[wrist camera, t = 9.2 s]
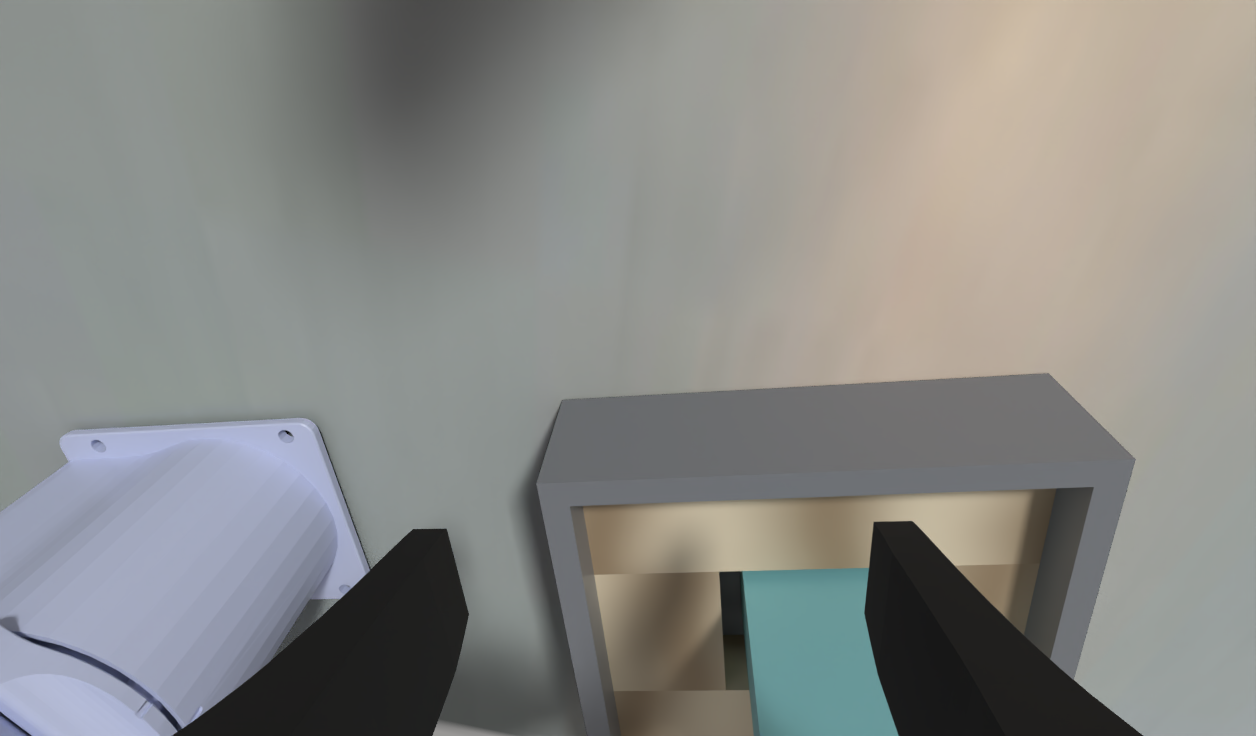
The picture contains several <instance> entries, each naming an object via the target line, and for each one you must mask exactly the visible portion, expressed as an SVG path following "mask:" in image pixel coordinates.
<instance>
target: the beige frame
mask: <svg viewBox="0 0 1256 736" xmlns="http://www.w3.org/2000/svg"><path fill="white" fill-rule="evenodd" d="M1056 489H1057V488H1052V489H1025V490H998V491H970V492H943V493H916V494H889V495H862V496H835V497H808V498H781V499H754V500H727V501H700V502H673V503H646V504H619V505H592V506H583V511H584V517H585V523H586V529H587V535H588V541H589V547H590V553H591V559H592V565H593V571H594V577H595V583H596V589H597V595H598V601H599V607H600V613H601V619H602V625H603V631H604V637H605V643H606V649H607V655H608V661H609V667H610V672H611V678H612V684H613V690H614V696H615V702H616V708H617V714H618V720H619V726H620V732H621V736H754V733H753V723H752V713H751V703H750V692H749V682H748V672H747V661H746V651H745V641H744V635H723V631H722V614H721V596H720V579H719V572H726V571H765V570H804V569H843V568H869V562H870V552H871V543H872V533H873V523H874V522H882V521H913V522H914V523H915V524H916V525H917V526H918V527H919V528H920V529H921V530H922V531H923V532H924V533H925V534H926V535H927V536H928V537H929V539H930V540H931V541H932V542H933V543H934V544H935V545H936V546H937V547H938V548H939V549H940V550H941V552H942V553H943V554H944V555H945V556H946V557H947V558H948V559H949V560H950V561H951V562H952V563H953V564H954V565H955V567H956V568H957V569H958V570H959V571H960V572H961V573H962V574H963V575H964V576H965V577H966V578H967V579H968V580H969V581H970V582H971V583H972V584H973V585H974V586H975V587H976V588H977V590H978V591H979V592H980V593H981V594H982V595H983V596H984V597H985V598H986V599H987V600H988V601H989V602H990V603H991V604H992V605H993V606H994V607H995V608H997V609H998V610H999V611H1000V612H1001V613H1002V614H1003V615H1004V616H1005V617H1006V618H1007V619H1008V620H1009V621H1010V622H1011V623H1012V624H1013V625H1014V626H1015V627H1016V628H1017V629H1018V630H1019V631H1020V632H1021V633H1022V634H1023V635H1024V632H1025V628H1026V623H1027V619H1028V614H1029V610H1030V605H1031V601H1032V596H1033V592H1034V587H1035V583H1036V579H1037V574H1038V570H1039V565H1040V561H1041V556H1042V552H1043V547H1044V543H1045V538H1046V534H1047V529H1048V525H1049V520H1050V516H1051V511H1052V507H1053V502H1054V498H1055V493H1056Z"/></svg>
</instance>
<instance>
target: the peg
mask: <svg viewBox="0 0 1256 736" xmlns="http://www.w3.org/2000/svg"><path fill="white" fill-rule="evenodd" d="M868 572H869V568H843V569H804V570H765V571H740V584H741V606H742V620H743V631H744V641H745V651H746V661H747V672H748V682H749V692H750V703H751V713H752V723H753V733H754V736H899V735H898V732H897V730H896V727H895V724H894V721H893V718H892V715H891V712H890V709H889V706H888V703H887V700H886V697H885V695H884V692H883V689H882V686H881V683H880V680H879V677H878V673H877V669H876V665H875V660H874V656H873V652H872V647H871V643H870V638H869V633H868V629H867V624H866V619H865V614H864V610H865V601H866V591H867V581H868Z"/></svg>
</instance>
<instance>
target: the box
mask: <svg viewBox="0 0 1256 736" xmlns="http://www.w3.org/2000/svg"><path fill="white" fill-rule="evenodd" d="M1135 460H1136V459H1135V458H1134V457H1133V456H1132V455H1131V454H1130V453H1129V452H1128V451H1127V450H1126V449H1125V448H1124V447H1123V446H1122V445H1121V444H1120V443H1119V442H1118V441H1117V440H1116V439H1115V438H1114V437H1113V436H1112V435H1111V434H1110V433H1109V432H1107V431H1106V430H1105V429H1104V428H1103V427H1102V426H1101V425H1100V424H1099V423H1098V422H1097V421H1096V420H1095V419H1094V418H1093V417H1092V416H1091V415H1090V414H1089V413H1088V412H1087V411H1086V410H1085V409H1084V408H1083V407H1082V406H1081V405H1080V404H1079V403H1078V402H1077V401H1076V400H1075V399H1074V398H1073V397H1072V396H1071V395H1070V394H1069V393H1068V392H1067V391H1066V390H1065V389H1064V388H1063V387H1062V386H1061V385H1060V384H1059V383H1058V382H1057V381H1056V380H1055V379H1054V378H1053V377H1052V376H1051V375H1050V374H1049V373H1047V374H1028V375H1010V376H992V377H974V378H955V379H937V380H919V381H900V382H882V383H864V384H845V385H827V386H809V387H790V388H772V389H754V390H736V391H717V392H699V393H681V394H662V395H644V396H626V397H607V398H589V399H571V400H562V403H561V406H560V409H559V413H558V416H557V419H556V422H555V425H554V429H553V432H552V435H551V438H550V441H549V445H548V448H547V451H546V454H545V457H544V461H543V464H542V467H541V470H540V473H539V476H538V480H537V483H536V485H537V490H538V495H539V500H540V505H541V510H542V515H543V520H544V525H545V530H546V535H547V540H548V545H549V549H550V554H551V559H552V564H553V569H554V574H555V579H556V584H557V589H558V594H559V599H560V604H561V609H562V614H563V619H564V624H565V629H566V634H567V639H568V643H569V648H570V653H571V658H572V663H573V668H574V673H575V678H576V683H577V688H578V693H579V698H580V703H581V708H582V713H583V718H584V723H585V728H586V733H587V736H621V732H620V726H619V720H618V714H617V708H616V702H615V696H614V690H613V684H612V678H611V672H610V667H609V661H608V655H607V649H606V643H605V637H604V631H603V625H602V619H601V613H600V607H599V601H598V595H597V589H596V583H595V577H594V571H593V565H592V559H591V553H590V547H589V541H588V535H587V529H586V523H585V517H584V511H583V506H592V505H619V504H646V503H673V502H700V501H727V500H754V499H781V498H808V497H835V496H862V495H889V494H916V493H943V492H970V491H998V490H1025V489H1052V488H1057V489H1056V493H1055V498H1054V502H1053V507H1052V511H1051V516H1050V520H1049V525H1048V529H1047V534H1046V538H1045V543H1044V547H1043V552H1042V556H1041V561H1040V565H1039V570H1038V574H1037V579H1036V583H1035V587H1034V592H1033V596H1032V601H1031V605H1030V610H1029V614H1028V619H1027V623H1026V628H1025V632H1024V636H1025V637H1026V638H1027V639H1029V640H1030V641H1031V642H1032V643H1033V644H1034V645H1035V646H1036V647H1037V648H1038V649H1039V650H1040V651H1042V652H1043V653H1044V654H1045V655H1046V656H1047V657H1048V658H1049V659H1050V660H1052V661H1053V662H1054V663H1055V664H1056V665H1057V666H1058V667H1059V668H1060V669H1062V670H1063V671H1064V672H1065V673H1066V674H1067V675H1068V676H1070V677H1071V678H1072V679H1073V680H1074V677H1075V673H1076V670H1077V666H1078V662H1079V659H1080V655H1081V652H1082V648H1083V645H1084V641H1085V638H1086V634H1087V630H1088V627H1089V623H1090V620H1091V616H1092V613H1093V609H1094V605H1095V602H1096V598H1097V595H1098V591H1099V588H1100V584H1101V581H1102V577H1103V573H1104V570H1105V566H1106V563H1107V559H1108V556H1109V552H1110V549H1111V545H1112V541H1113V538H1114V534H1115V531H1116V527H1117V524H1118V520H1119V516H1120V513H1121V509H1122V506H1123V502H1124V499H1125V495H1126V492H1127V488H1128V484H1129V481H1130V477H1131V474H1132V470H1133V467H1134V463H1135ZM719 579H720V596H721V614H722V631H723V635H744V631H743V620H742V606H741V584H740V571H726V572H719Z"/></svg>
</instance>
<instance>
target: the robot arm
mask: <svg viewBox="0 0 1256 736" xmlns="http://www.w3.org/2000/svg"><path fill="white" fill-rule="evenodd" d="M285 430H287V431H289V432H290V433H292V435H293V436H294V437H292V436H289V435H288V434H287V433H286V432H285ZM59 443H60V446H61V449H62V451H63V452H64V454H65V456H66V458H67V459H68V461H69V462H68V463H67V464H65V465H64V466H63V467H61V468H60V469H58V470H57V471H56V472H54V473H53V474H52V475H50V476H49V477H47V478H46V479H45V480H43V481H42V482H41V483H39V484H38V485H37V486H35V487H34V488H32V489H31V490H30V491H28V492H27V493H26V494H24V495H23V496H21V497H20V498H19V499H17V500H16V501H15V502H13V503H12V504H10V505H9V506H8V507H6V508H5V509H4V510H2V511H1V512H0V736H432V735H433V732H434V730H435V727H436V724H437V722H438V719H439V716H440V713H441V711H442V708H443V705H444V702H445V700H446V697H447V694H448V691H449V689H450V686H451V683H452V680H453V677H454V674H455V672H456V668H457V663H458V659H459V655H460V651H461V647H462V643H463V638H464V634H465V629H466V625H467V620H468V616H469V613H468V610H467V606H466V602H465V598H464V594H463V590H462V586H461V582H460V579H459V575H458V571H457V567H456V563H455V559H454V555H453V552H452V548H451V544H450V540H449V536H448V532H447V529H413V530H412V531H411V532H410V533H408V534H407V535H406V536H405V537H404V538H403V539H402V540H401V541H400V542H399V543H398V544H397V545H396V546H395V547H394V548H393V549H392V550H391V551H389V552H388V553H387V554H386V555H385V556H384V557H383V558H382V559H381V560H380V561H379V562H378V563H377V564H376V565H375V566H374V567H373V568H372V569H371V570H370V569H369V566H368V564H367V561H366V558H365V555H364V553H363V550H362V547H361V544H360V542H359V539H358V536H357V533H356V531H355V528H354V525H353V522H352V520H351V517H350V514H349V511H348V509H347V506H346V503H345V500H344V498H343V495H342V492H341V489H340V487H339V484H338V481H337V478H336V476H335V473H334V470H333V467H332V465H331V462H330V459H329V456H328V454H327V451H326V448H325V445H324V443H323V440H322V437H321V434H320V432H319V429H318V427H317V426H316V425H315V424H314V423H313V422H312V421H310V420H308V419H305V418H289V419H271V420H252V421H234V422H215V423H197V424H178V425H160V426H141V427H123V428H104V429H86V430H73V431H69V432H68V433H66V434H65V435H63V436H62V437H61V438H60V442H59ZM347 585H348V586H350V587H348V586H347ZM310 599H340V600H339V601H337V602H336V603H335V604H334V605H333V606H332V607H331V608H330V609H329V610H328V611H327V612H326V613H325V614H324V615H323V616H322V617H320V618H319V619H318V620H317V621H316V622H315V623H314V624H312V625H311V626H310V627H309V628H308V629H307V630H306V631H304V632H303V633H302V634H301V635H300V636H299V637H298V638H296V639H295V640H294V641H293V642H292V643H291V644H290V645H288V646H287V647H286V648H285V649H284V650H283V651H282V652H280V653H279V654H278V655H277V656H276V657H275V658H274V659H272V658H273V656H274V654H275V653H276V651H277V650H278V648H279V647H280V645H281V644H282V642H283V640H284V639H285V637H286V636H287V634H288V633H289V631H290V629H291V628H292V626H293V625H294V623H295V622H296V620H297V618H298V617H299V615H300V614H301V612H302V611H303V609H304V607H305V606H306V604H307V603H308V601H309V600H310ZM864 614H865V619H866V624H867V629H868V633H869V638H870V643H871V647H872V652H873V656H874V660H875V665H876V669H877V673H878V677H879V680H880V683H881V686H882V689H883V692H884V695H885V697H886V700H887V703H888V706H889V709H890V712H891V715H892V718H893V721H894V724H895V727H896V730H897V732H898V735H899V736H1143V735H1142V734H1140V733H1139V732H1138V731H1136V730H1135V729H1134V728H1133V727H1131V726H1130V725H1129V724H1127V723H1126V722H1125V721H1124V720H1122V719H1121V718H1120V717H1119V716H1117V715H1116V714H1115V713H1114V712H1112V711H1111V710H1110V709H1108V708H1107V707H1106V706H1105V705H1103V704H1102V703H1101V702H1100V701H1098V700H1097V699H1096V698H1095V697H1093V696H1092V695H1091V694H1090V693H1088V692H1087V691H1086V690H1085V689H1084V688H1082V687H1081V686H1080V685H1079V684H1078V683H1077V682H1075V681H1074V680H1073V679H1072V678H1071V677H1070V676H1068V675H1067V674H1066V673H1065V672H1064V671H1063V670H1062V669H1060V668H1059V667H1058V666H1057V665H1056V664H1055V663H1054V662H1053V661H1052V660H1050V659H1049V658H1048V657H1047V656H1046V655H1045V654H1044V653H1043V652H1042V651H1040V650H1039V649H1038V648H1037V647H1036V646H1035V645H1034V644H1033V643H1032V642H1031V641H1030V640H1029V639H1027V638H1026V637H1025V636H1024V635H1023V634H1022V633H1021V632H1020V631H1019V630H1018V629H1017V628H1016V627H1015V626H1014V625H1013V624H1012V623H1011V622H1010V621H1009V620H1008V619H1007V618H1006V617H1005V616H1004V615H1003V614H1002V613H1001V612H1000V611H999V610H998V609H997V608H995V607H994V606H993V605H992V604H991V603H990V602H989V601H988V600H987V599H986V598H985V597H984V596H983V595H982V594H981V593H980V592H979V591H978V590H977V588H976V587H975V586H974V585H973V584H972V583H971V582H970V581H969V580H968V579H967V578H966V577H965V576H964V575H963V574H962V573H961V572H960V571H959V570H958V569H957V568H956V567H955V565H954V564H953V563H952V562H951V561H950V560H949V559H948V558H947V557H946V556H945V555H944V554H943V553H942V552H941V550H940V549H939V548H938V547H937V546H936V545H935V544H934V543H933V542H932V541H931V540H930V539H929V537H928V536H927V535H926V534H925V533H924V532H923V531H922V530H921V529H920V528H919V527H918V526H917V525H916V524H915V523H914V522H913V521H882V522H874V523H873V533H872V543H871V552H870V562H869V572H868V581H867V591H866V601H865V610H864ZM271 659H272V660H271Z"/></svg>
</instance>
